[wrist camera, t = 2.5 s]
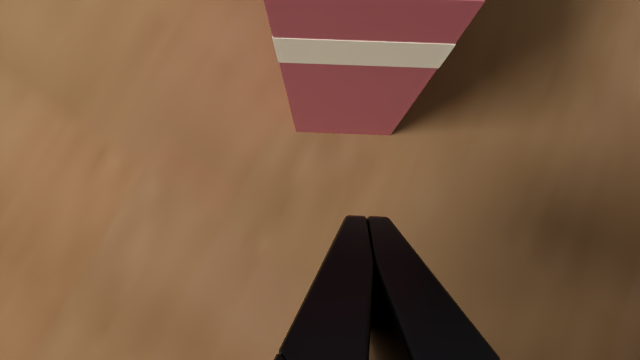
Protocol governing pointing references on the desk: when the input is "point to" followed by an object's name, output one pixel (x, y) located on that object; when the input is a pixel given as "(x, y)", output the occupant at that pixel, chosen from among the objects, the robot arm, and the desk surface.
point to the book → (361, 57)
